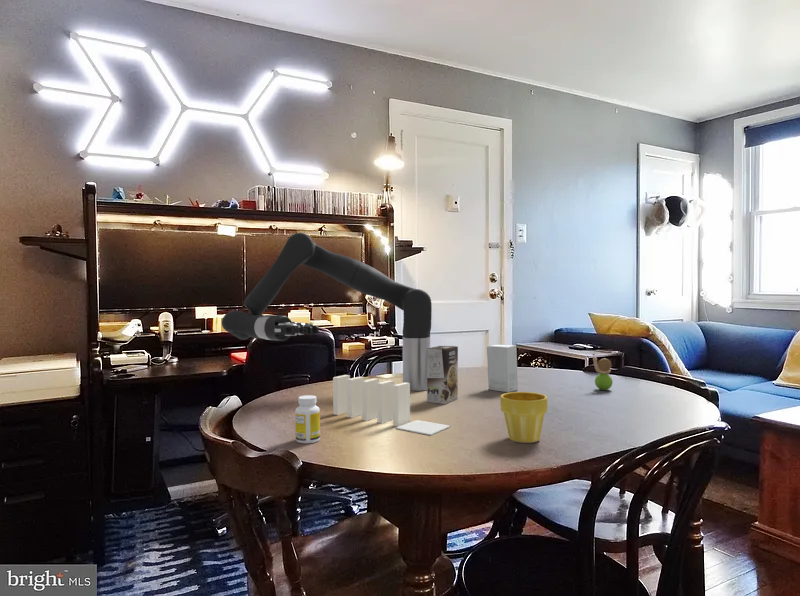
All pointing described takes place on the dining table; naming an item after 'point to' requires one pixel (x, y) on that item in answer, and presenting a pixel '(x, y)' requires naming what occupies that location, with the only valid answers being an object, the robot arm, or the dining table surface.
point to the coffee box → (442, 374)
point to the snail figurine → (603, 373)
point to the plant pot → (524, 415)
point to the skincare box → (502, 368)
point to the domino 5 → (401, 404)
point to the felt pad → (423, 427)
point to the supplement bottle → (307, 420)
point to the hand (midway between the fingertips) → (314, 330)
